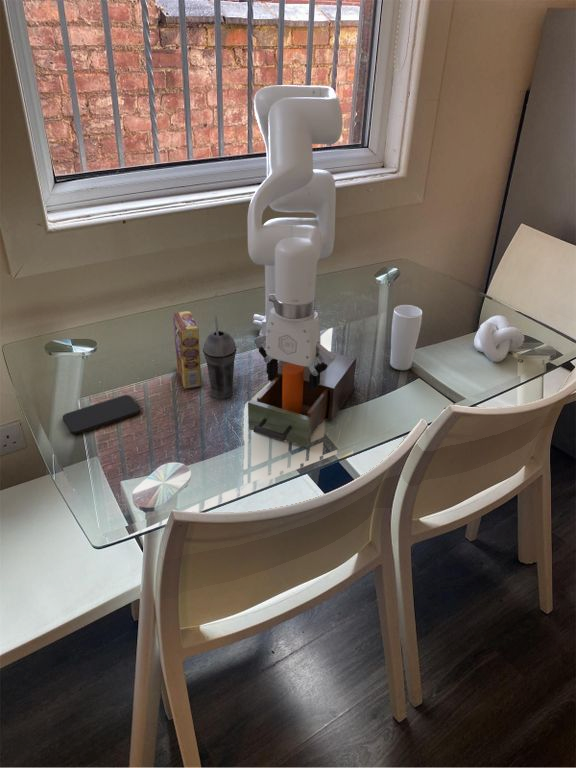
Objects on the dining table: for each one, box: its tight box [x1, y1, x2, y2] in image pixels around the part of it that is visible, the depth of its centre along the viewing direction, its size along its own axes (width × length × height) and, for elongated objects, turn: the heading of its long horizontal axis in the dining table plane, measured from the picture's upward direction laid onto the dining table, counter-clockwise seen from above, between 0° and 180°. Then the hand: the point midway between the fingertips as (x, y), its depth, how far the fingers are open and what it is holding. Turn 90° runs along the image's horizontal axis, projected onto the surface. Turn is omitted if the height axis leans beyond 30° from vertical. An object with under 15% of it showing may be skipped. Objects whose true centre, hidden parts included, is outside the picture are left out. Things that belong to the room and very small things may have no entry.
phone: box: [62, 394, 141, 435], centre depth 129 cm, size 7×1×15 cm
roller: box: [282, 363, 304, 415], centre depth 123 cm, size 4×4×12 cm
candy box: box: [172, 311, 202, 389], centre depth 138 cm, size 9×4×15 cm, turn 20°
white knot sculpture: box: [473, 314, 525, 363], centre depth 152 cm, size 11×12×9 cm
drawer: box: [247, 376, 330, 449], centre depth 124 cm, size 17×13×7 cm
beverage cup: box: [202, 315, 238, 400], centre depth 131 cm, size 7×7×20 cm
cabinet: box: [270, 350, 357, 422], centre depth 134 cm, size 14×15×9 cm
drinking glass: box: [389, 304, 423, 371], centre depth 144 cm, size 7×7×15 cm
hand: (292, 382), depth 122 cm, fingers open, 8 cm apart
